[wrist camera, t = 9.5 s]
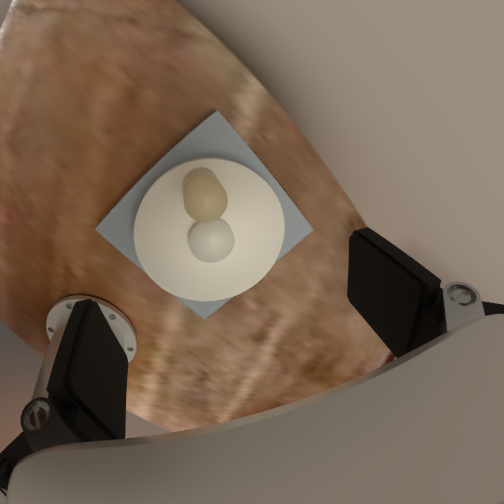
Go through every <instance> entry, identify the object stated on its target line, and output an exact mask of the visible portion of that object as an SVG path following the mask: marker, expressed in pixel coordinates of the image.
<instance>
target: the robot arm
mask: <svg viewBox="0 0 504 504" xmlns="http://www.w3.org/2000/svg"><path fill="white" fill-rule="evenodd" d="M440 283H441V280H440V279H439V278H438V277H436V276H435V275H434V274H432V273H431V272H430V271H429V270H427V269H426V268H425V267H423V266H422V265H421V264H419V263H418V262H417V261H415V260H414V259H413V258H411V257H410V256H408V255H407V254H406V253H404V252H403V251H402V250H400V249H399V248H397V247H396V246H395V245H393V244H392V243H390V242H389V241H388V240H386V239H385V238H383V237H382V236H380V235H379V234H378V233H376V232H375V231H373V230H371V229H370V228H368V227H367V228H363V229H359V230H355V231H354V232H353V234H352V235H351V236H350V238H349V269H348V290H347V296H348V299H349V301H350V303H351V304H352V305H353V306H354V308H355V309H356V310H357V311H358V312H359V313H360V315H361V316H362V317H363V318H364V319H365V320H366V322H367V323H368V324H369V325H370V326H371V328H372V329H373V330H374V331H375V332H376V333H377V335H378V336H379V337H380V338H381V339H382V341H383V342H384V343H385V344H386V345H387V347H388V348H389V349H390V350H391V352H392V353H393V354H394V355H395V356H396V357H397V359H395V360H393V361H391V362H389V363H387V364H385V365H383V366H381V367H379V368H377V369H375V370H373V371H371V372H368V373H366V374H364V375H362V376H360V377H357V378H355V379H353V380H350V381H348V382H346V383H343V384H341V385H338V386H336V387H333V388H331V389H328V390H326V391H323V392H320V393H318V394H315V395H312V396H310V397H307V398H304V399H301V400H298V401H295V402H292V403H289V404H286V405H283V406H280V407H277V408H274V409H271V410H267V411H264V412H261V413H257V414H253V415H250V416H246V417H242V418H239V419H235V420H231V421H226V422H222V423H218V424H214V425H209V426H204V427H200V428H195V429H189V430H184V431H178V432H172V433H166V434H159V435H152V436H144V437H137V438H127V439H125V421H126V419H125V418H126V391H127V374H128V364H129V362H130V361H131V360H132V359H133V357H134V356H135V353H136V349H137V336H136V332H135V330H134V327H133V325H132V324H131V322H130V321H129V319H128V318H127V317H126V316H125V315H124V314H123V313H122V312H121V311H120V310H118V309H117V308H116V307H114V306H113V305H111V304H109V303H108V302H105V301H103V300H101V299H98V298H94V297H90V296H83V295H75V296H69V297H65V298H63V299H61V300H59V301H58V302H56V303H55V304H54V305H53V306H52V308H51V310H50V312H49V314H48V316H47V319H46V331H47V335H48V337H49V340H50V343H49V346H48V349H47V351H46V354H45V357H44V360H43V363H42V366H41V369H40V372H39V375H38V379H37V382H36V386H35V389H34V393H33V396H32V400H31V401H30V402H29V403H28V404H27V405H26V406H25V408H24V409H23V411H22V414H21V419H20V423H21V427H22V429H23V432H22V433H21V434H20V435H19V436H18V437H17V438H16V439H15V440H13V441H12V442H11V443H10V444H9V445H8V446H7V447H6V448H5V449H4V450H3V451H2V452H1V453H0V504H504V305H502V304H495V303H489V302H483V301H481V298H480V295H479V293H478V291H477V290H476V289H475V288H474V287H472V286H471V285H469V284H466V283H463V282H451V283H448V284H447V285H445V287H444V288H443V289H442V288H440Z"/></svg>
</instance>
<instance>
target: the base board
mask: <svg viewBox="0 0 504 504" xmlns="http://www.w3.org/2000/svg"><path fill="white" fill-rule="evenodd" d="M203 157H218V158H225V159H229V160H232V161H236V162H238V163H240V164H242V165H244V166H246V167H248V168H249V169H251V170H252V171H254V172H255V173H256V174H258V175H259V176H260V177H261V178H262V179H263V180H265V181H266V182H267V184H268V185H269V186H270V187H271V188H272V190H273V191H274V193H275V194H276V196H277V198H278V200H279V202H280V204H281V208H282V211H283V215H284V222H285V232H284V240H283V244H282V247H281V250H280V253H279V255H278V257H277V259H276V261H277V260H278V259H279V258H281V257H282V256H283V255H284V254H285V253H287V252H288V251H289V250H290V249H291V248H293V247H294V246H295V245H296V244H297V243H299V242H300V241H301V240H302V239H303V238H304V237H306V236H307V235H308V234H309V233H310V232H312V231H313V229H312V227H311V226H310V224H309V223H308V222H307V220H306V219H305V218H304V216H303V215H302V214H301V212H300V211H299V210H298V208H297V207H296V206H295V204H294V203H293V202H292V200H291V199H290V198H289V197H288V195H287V194H286V193H285V191H284V190H283V189H282V188H281V186H280V185H279V184H278V182H277V181H276V180H275V179H274V177H273V176H272V175H271V174H270V172H269V171H268V170H267V168H266V167H265V166H264V165H263V164H262V162H261V161H260V160H259V159H258V157H257V156H256V155H255V154H254V152H253V151H252V150H251V149H250V148H249V146H248V145H247V144H246V143H245V142H244V140H243V139H242V138H241V137H240V136H239V134H238V133H237V132H236V131H235V130H234V128H233V127H232V126H231V125H230V124H229V123H228V121H227V120H226V119H225V118H224V117H223V116H222V114H221V113H220V112H219V111H218V110H216V111H214V112H213V113H212V114H211V115H209V116H208V117H207V118H206V119H205V120H203V121H202V122H201V123H200V124H199V125H197V126H196V127H195V128H194V129H193V130H192V131H190V132H189V133H188V134H187V135H186V136H185V137H184V138H182V139H181V140H180V141H179V142H178V143H177V144H176V145H175V146H174V147H172V148H171V149H170V150H169V151H168V152H167V153H166V154H165V155H164V156H163V157H162V158H161V159H160V160H159V161H158V162H156V163H155V164H154V165H153V166H152V167H151V168H150V169H149V170H148V171H147V172H146V173H145V174H144V175H143V176H142V177H141V178H140V179H139V180H138V181H137V182H136V183H135V184H134V185H133V186H132V187H131V189H130V190H129V191H128V192H127V193H126V194H125V195H124V196H123V197H122V198H121V199H120V200H119V201H118V202H117V204H116V205H115V206H114V207H113V208H112V209H111V210H110V211H109V212H108V214H107V215H106V216H105V217H104V218H103V219H102V220H101V222H100V223H99V224H98V225H97V227H96V229H95V230H96V231H97V232H98V233H100V234H101V235H102V236H103V237H104V238H105V239H106V240H107V241H108V242H110V243H111V244H112V245H113V246H114V247H115V248H116V249H117V250H119V251H120V252H121V253H122V254H123V255H124V256H126V257H127V258H128V259H129V260H130V261H131V262H133V263H134V264H135V265H136V266H137V267H138V268H140V269H141V270H142V271H143V272H144V273H146V272H145V270H144V269H143V267H142V265H141V264H140V261H139V259H138V257H137V254H136V250H135V245H134V224H135V219H136V215H137V212H138V209H139V206H140V204H141V201H142V199H143V197H144V195H145V194H146V192H147V190H148V189H149V188H150V186H151V185H152V184H153V183H154V182H155V180H156V179H157V178H158V177H159V176H161V175H162V174H163V173H164V172H166V171H167V170H169V169H170V168H172V167H174V166H175V165H178V164H180V163H182V162H185V161H188V160H191V159H195V158H203ZM276 261H275V262H276ZM146 274H147V273H146ZM147 275H148V274H147ZM170 294H171V293H170ZM172 295H173V294H172ZM173 296H174V297H176V298H177V299H178V300H179V301H181V302H182V303H183V304H185V305H186V306H187V307H189V308H190V309H191V310H192V311H194V312H195V313H196V314H198V315H199V316H200V317H202V318H203V319H206V318H207V317H208V316H210V315H211V314H212V313H213V312H215V311H216V310H217V309H218V308H220V307H221V306H222V305H223V304H225V303H226V302H227V301H228V300H229V299H231V298H232V297H230V298H226V299H222V300H217V301H194V300H188V299H184V298H181V297H178V296H175V295H173Z"/></svg>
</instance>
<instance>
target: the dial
mask: <svg viewBox="0 0 504 504" xmlns="http://www.w3.org/2000/svg"><path fill="white" fill-rule="evenodd" d="M284 232H285V222H284V215H283V211H282V208H281V204H280V202H279V200H278V198H277V196H276V194H275V193H274V191H273V190H272V188H271V187H270V186H269V185H268V184H267V182H266V181H265V180H263V179H262V178H261V177H260V176H259V175H258V174H256V173H255V172H254V171H252V170H251V169H249V168H248V167H246V166H244V165H242V164H240V163H238V162H236V161H232V160H229V159H225V158H218V157H203V158H195V159H191V160H188V161H185V162H182V163H180V164H178V165H175V166H174V167H172V168H170V169H169V170H167V171H166V172H164V173H163V174H162V175H161V176H159V177H158V178H157V179H156V180H155V182H154V183H153V184H152V185H151V186H150V188H149V189H148V190H147V192H146V194H145V195H144V197H143V199H142V201H141V204H140V206H139V209H138V212H137V215H136V219H135V224H134V245H135V250H136V254H137V257H138V259H139V261H140V264H141V265H142V267H143V269H144V270H145V272H146V273H147V274H148V276H149V277H150V278H151V279H152V280H153V281H154V282H155V283H156V284H157V285H158V286H160V287H161V288H162V289H164V290H166V291H167V292H169V293H171V294H173V295H175V296H178V297H181V298H184V299H188V300H194V301H217V300H222V299H226V298H230V297H233V296H235V295H238V294H240V293H242V292H244V291H246V290H248V289H249V288H251V287H252V286H254V285H255V284H256V283H257V282H259V281H260V280H261V279H262V278H263V277H264V276H265V275H266V274H267V273H268V271H269V270H270V269H271V267H272V266H273V265H274V263H275V261H276V259H277V257H278V255H279V253H280V250H281V247H282V244H283V240H284Z"/></svg>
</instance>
